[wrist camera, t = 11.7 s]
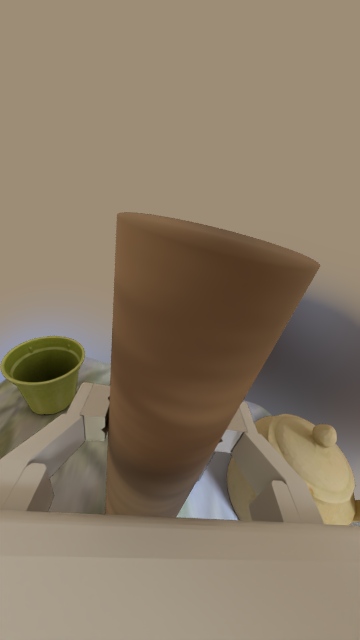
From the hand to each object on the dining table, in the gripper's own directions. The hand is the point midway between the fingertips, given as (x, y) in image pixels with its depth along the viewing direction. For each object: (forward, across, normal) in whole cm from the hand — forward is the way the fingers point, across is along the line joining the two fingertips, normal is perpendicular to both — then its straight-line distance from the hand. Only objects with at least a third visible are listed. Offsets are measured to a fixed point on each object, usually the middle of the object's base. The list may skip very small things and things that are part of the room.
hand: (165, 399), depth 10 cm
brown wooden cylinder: (-1, 0, +10) cm, 10 cm away
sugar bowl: (+3, -19, +22) cm, 29 cm away
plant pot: (+14, +15, +22) cm, 30 cm away
